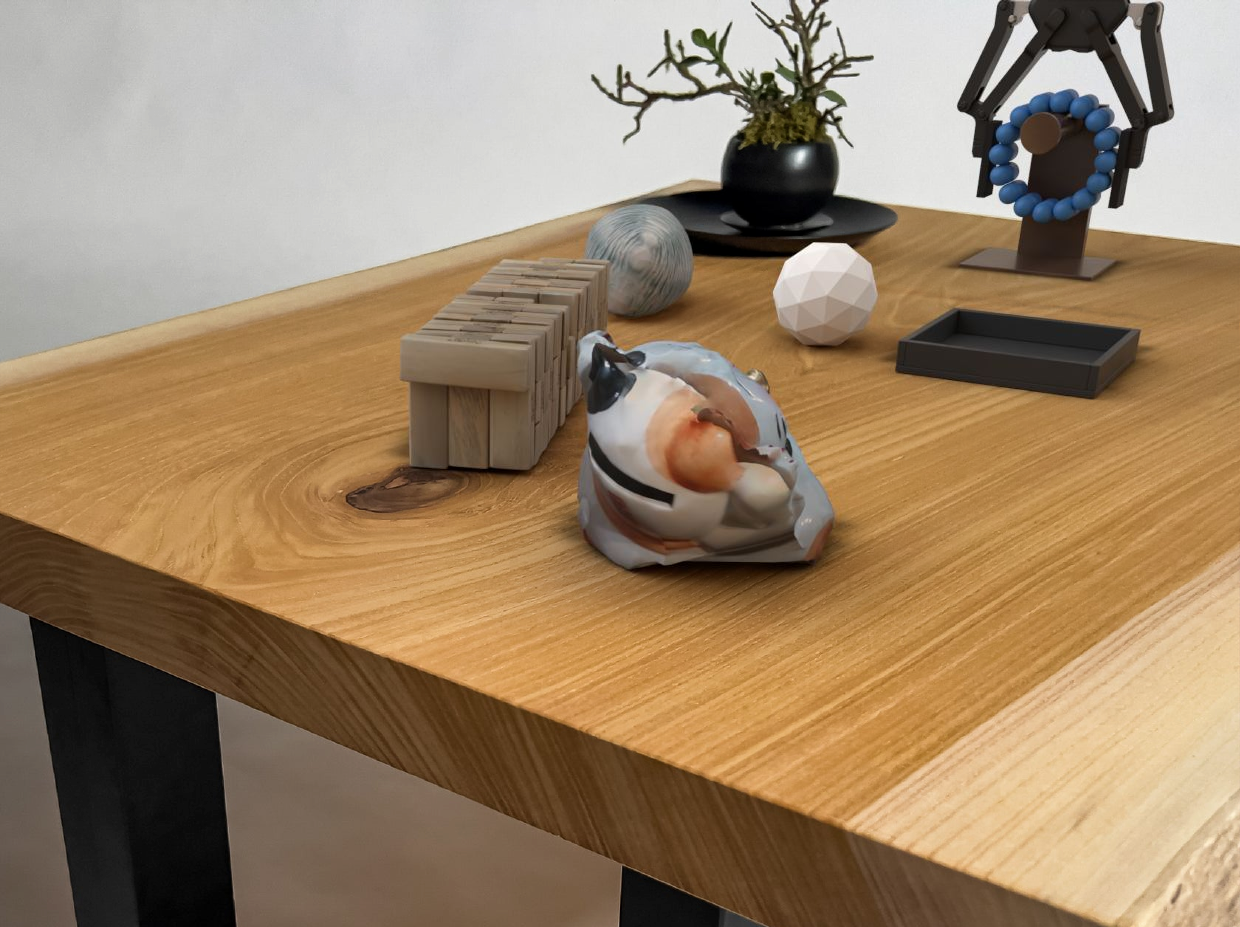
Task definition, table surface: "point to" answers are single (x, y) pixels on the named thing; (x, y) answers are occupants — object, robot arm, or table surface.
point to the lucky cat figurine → (691, 461)
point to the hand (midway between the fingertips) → (1048, 201)
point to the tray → (1019, 352)
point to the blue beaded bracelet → (1009, 150)
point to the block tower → (502, 363)
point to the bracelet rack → (1055, 174)
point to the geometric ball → (825, 294)
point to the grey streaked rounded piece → (642, 259)
